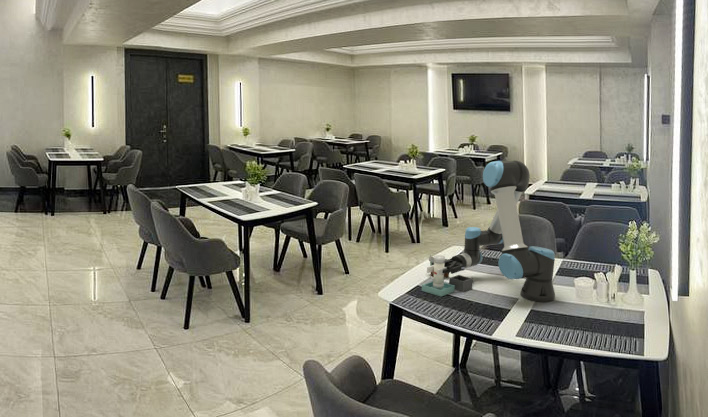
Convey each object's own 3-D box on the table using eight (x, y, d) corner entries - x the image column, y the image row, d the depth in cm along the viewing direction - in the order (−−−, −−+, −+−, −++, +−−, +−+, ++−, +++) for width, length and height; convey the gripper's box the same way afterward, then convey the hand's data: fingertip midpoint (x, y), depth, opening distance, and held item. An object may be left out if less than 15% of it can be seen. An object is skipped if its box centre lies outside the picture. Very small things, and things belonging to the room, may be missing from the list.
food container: (424, 276, 297) (425, 257, 295) (428, 273, 303) (429, 254, 301) (447, 280, 292) (448, 261, 290) (451, 277, 297) (452, 258, 295)
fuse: (445, 287, 275) (447, 256, 272) (440, 290, 271) (441, 259, 268) (436, 285, 278) (437, 254, 275) (430, 287, 274) (432, 256, 271)
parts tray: (454, 291, 275) (454, 285, 275) (441, 296, 267) (441, 290, 267) (435, 285, 283) (435, 280, 282) (421, 290, 275) (421, 285, 274)
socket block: (472, 288, 280) (472, 278, 279) (463, 292, 274) (463, 282, 274) (457, 284, 286) (458, 274, 285) (448, 288, 280) (449, 278, 279)
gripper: (475, 273, 281) (448, 283, 264) (444, 265, 293) (416, 274, 276) (476, 258, 279) (449, 267, 263) (445, 251, 291) (417, 259, 274)
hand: (432, 271), depth 269 cm, fingers closed on fuse, 5 cm apart
